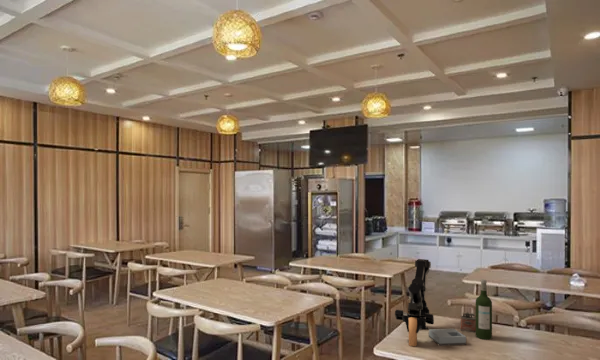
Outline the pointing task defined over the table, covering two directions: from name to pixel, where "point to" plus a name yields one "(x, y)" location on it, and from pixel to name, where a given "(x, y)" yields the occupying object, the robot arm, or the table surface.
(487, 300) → the wine bottle
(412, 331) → the pin
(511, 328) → the table surface
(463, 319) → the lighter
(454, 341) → the socket block
